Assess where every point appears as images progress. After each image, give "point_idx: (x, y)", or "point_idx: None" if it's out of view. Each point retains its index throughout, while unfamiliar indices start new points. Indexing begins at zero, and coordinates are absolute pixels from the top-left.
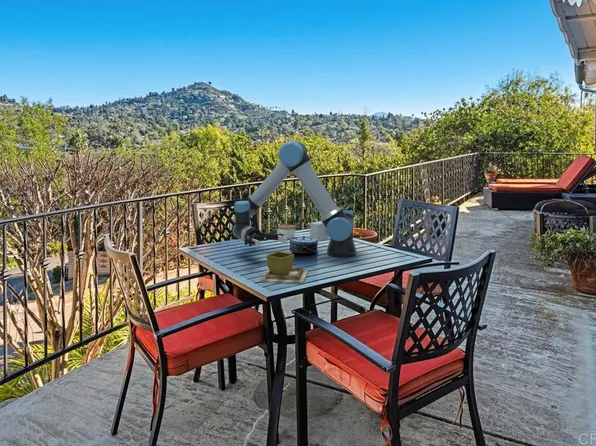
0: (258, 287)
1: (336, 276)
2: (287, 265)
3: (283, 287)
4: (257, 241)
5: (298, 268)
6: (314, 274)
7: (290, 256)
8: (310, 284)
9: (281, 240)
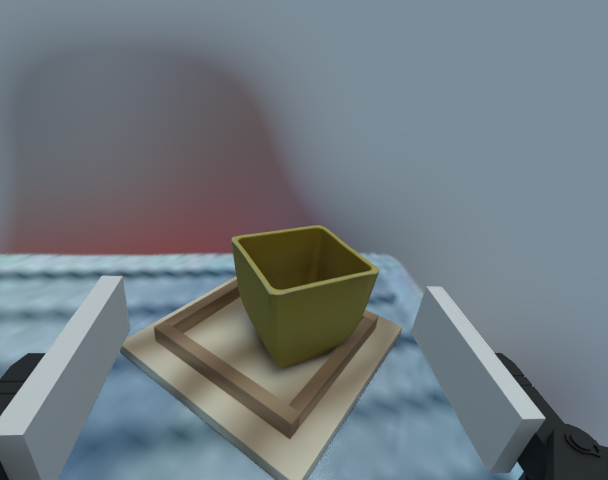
0: (411, 301)
1: (97, 271)
2: (278, 271)
3: None
4: (449, 301)
5: (180, 332)
6: (134, 316)
7: (262, 236)
8: None
9: (94, 381)
